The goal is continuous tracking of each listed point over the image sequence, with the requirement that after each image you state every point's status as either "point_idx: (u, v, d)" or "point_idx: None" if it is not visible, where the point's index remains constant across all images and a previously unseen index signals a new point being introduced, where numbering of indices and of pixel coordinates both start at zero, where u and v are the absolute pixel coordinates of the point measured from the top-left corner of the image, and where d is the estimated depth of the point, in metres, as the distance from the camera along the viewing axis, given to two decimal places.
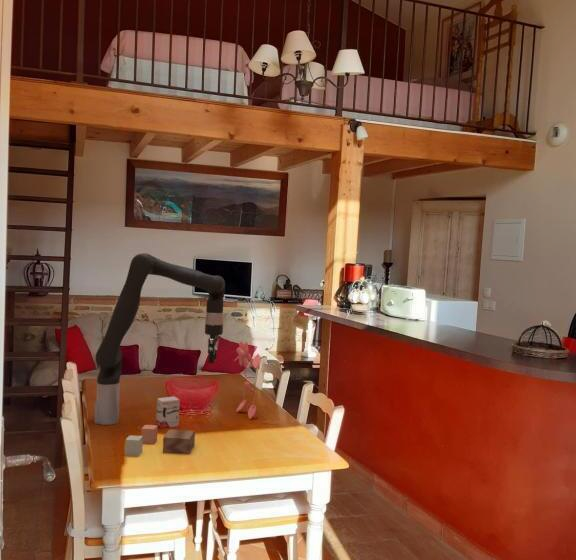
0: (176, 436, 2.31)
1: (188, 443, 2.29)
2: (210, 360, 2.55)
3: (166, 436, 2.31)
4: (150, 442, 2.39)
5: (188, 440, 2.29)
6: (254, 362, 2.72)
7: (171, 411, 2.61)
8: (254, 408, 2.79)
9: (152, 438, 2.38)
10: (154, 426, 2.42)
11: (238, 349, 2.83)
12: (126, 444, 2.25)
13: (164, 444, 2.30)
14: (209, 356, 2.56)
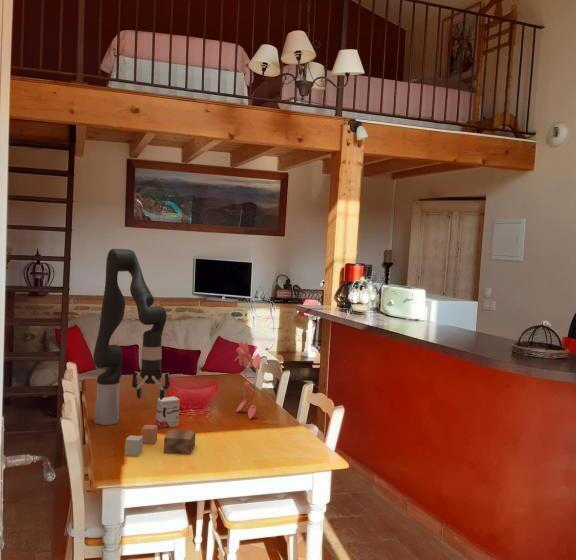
0: (177, 436, 2.31)
1: (189, 443, 2.29)
2: (163, 396, 2.40)
3: (167, 436, 2.30)
4: (150, 442, 2.39)
5: (189, 440, 2.29)
6: (254, 362, 2.72)
7: (171, 411, 2.61)
8: (254, 408, 2.79)
9: (152, 438, 2.38)
10: (154, 426, 2.42)
11: (238, 349, 2.83)
12: (126, 444, 2.25)
13: (165, 444, 2.29)
14: (161, 392, 2.39)
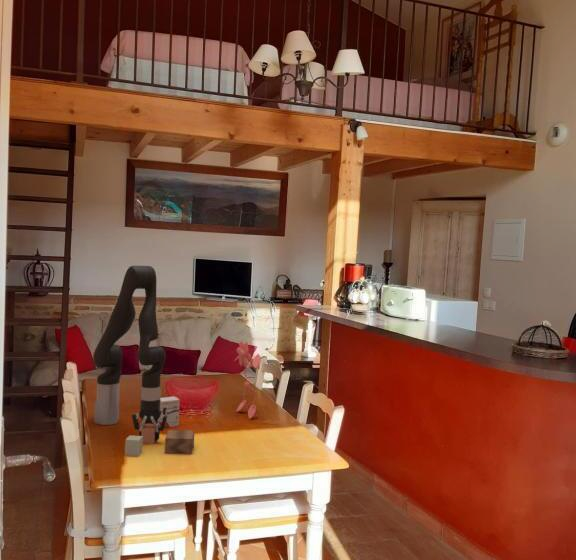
0: (178, 436, 2.31)
1: (190, 443, 2.29)
2: None
3: (168, 437, 2.30)
4: (150, 442, 2.39)
5: (190, 440, 2.29)
6: (254, 362, 2.72)
7: (171, 411, 2.61)
8: (254, 408, 2.79)
9: (152, 438, 2.38)
10: None
11: (238, 349, 2.83)
12: (126, 444, 2.25)
13: (166, 445, 2.29)
14: (156, 434, 2.40)
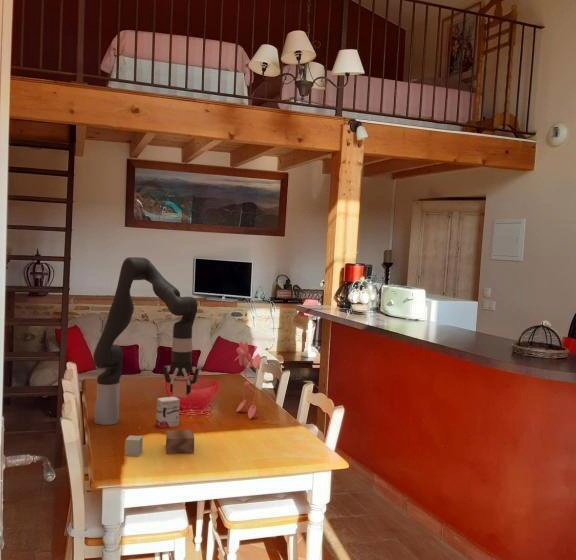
0: (179, 436, 2.31)
1: (192, 442, 2.30)
2: (190, 391, 2.33)
3: (169, 437, 2.29)
4: (182, 395, 2.31)
5: (192, 439, 2.30)
6: (254, 362, 2.72)
7: (171, 411, 2.61)
8: (254, 408, 2.79)
9: (184, 391, 2.31)
10: (185, 379, 2.34)
11: (238, 349, 2.83)
12: (126, 444, 2.25)
13: (168, 445, 2.28)
14: (188, 387, 2.32)
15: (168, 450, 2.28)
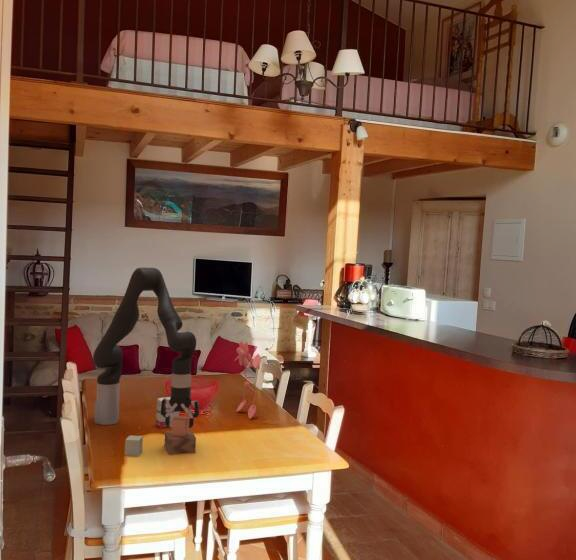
0: (180, 437, 2.31)
1: (194, 442, 2.31)
2: (192, 424, 2.34)
3: (170, 438, 2.29)
4: (181, 434, 2.32)
5: (194, 439, 2.31)
6: (254, 362, 2.72)
7: None
8: (254, 408, 2.79)
9: (183, 430, 2.32)
10: (185, 418, 2.35)
11: (238, 349, 2.83)
12: (126, 444, 2.25)
13: (170, 446, 2.28)
14: (191, 421, 2.33)
15: (170, 451, 2.28)
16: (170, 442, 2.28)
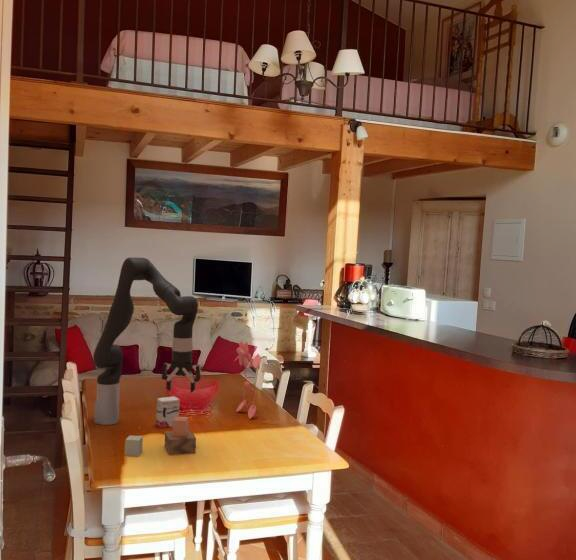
0: (180, 437, 2.31)
1: (194, 442, 2.31)
2: None
3: (171, 438, 2.29)
4: (182, 434, 2.31)
5: (194, 439, 2.30)
6: (254, 362, 2.72)
7: (171, 411, 2.61)
8: (254, 408, 2.79)
9: (184, 430, 2.31)
10: (185, 418, 2.35)
11: (238, 349, 2.83)
12: (126, 444, 2.25)
13: (170, 446, 2.27)
14: (192, 385, 2.32)
15: (170, 451, 2.28)
16: (170, 442, 2.27)
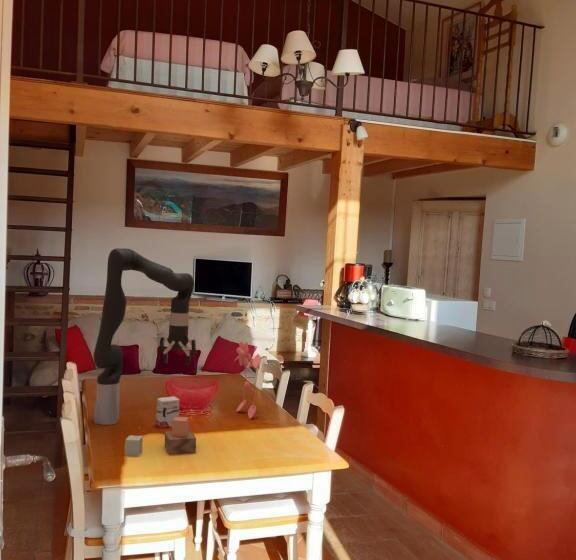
0: (180, 437, 2.30)
1: (194, 442, 2.30)
2: (189, 362, 2.44)
3: (171, 438, 2.29)
4: (181, 434, 2.31)
5: (194, 439, 2.30)
6: (254, 362, 2.72)
7: (171, 411, 2.61)
8: (254, 408, 2.79)
9: (183, 430, 2.31)
10: (185, 418, 2.34)
11: (238, 349, 2.83)
12: (126, 444, 2.25)
13: (170, 446, 2.27)
14: (188, 358, 2.43)
15: (170, 451, 2.27)
16: (170, 442, 2.27)
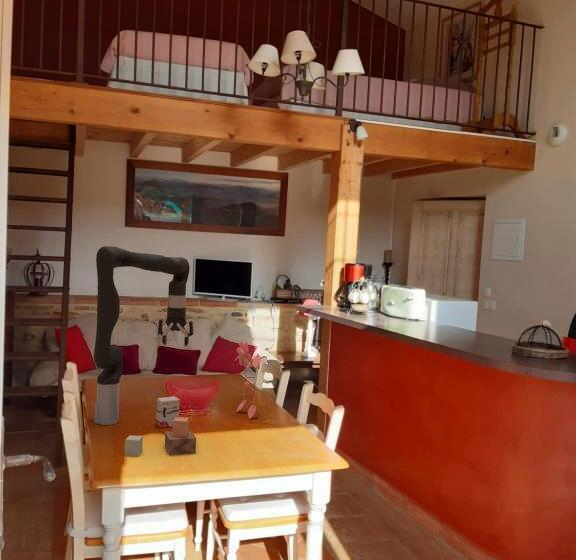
0: (180, 437, 2.30)
1: (194, 442, 2.30)
2: (187, 343, 2.52)
3: (171, 438, 2.28)
4: (182, 435, 2.31)
5: (194, 439, 2.30)
6: (254, 362, 2.72)
7: (171, 411, 2.61)
8: (254, 408, 2.79)
9: (184, 431, 2.31)
10: (186, 418, 2.34)
11: (238, 349, 2.83)
12: (126, 444, 2.25)
13: (170, 446, 2.27)
14: (186, 339, 2.52)
15: (170, 451, 2.27)
16: (170, 442, 2.27)
